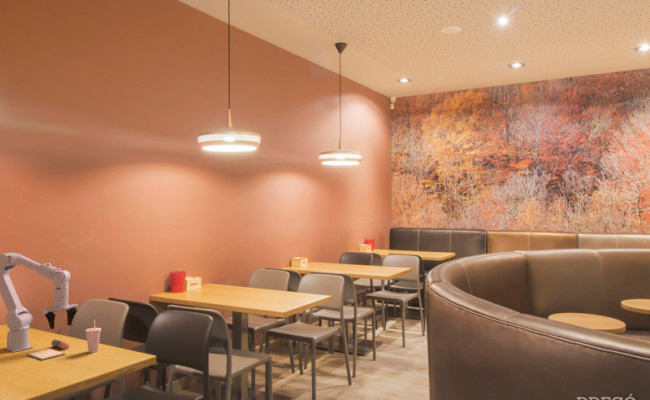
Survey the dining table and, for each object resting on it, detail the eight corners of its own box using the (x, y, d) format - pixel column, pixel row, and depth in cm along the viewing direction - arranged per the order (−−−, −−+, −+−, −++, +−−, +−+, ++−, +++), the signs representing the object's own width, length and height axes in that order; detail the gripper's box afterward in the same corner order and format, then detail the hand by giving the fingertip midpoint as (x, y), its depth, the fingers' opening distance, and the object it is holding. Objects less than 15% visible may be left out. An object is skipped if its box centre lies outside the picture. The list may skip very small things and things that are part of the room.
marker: (51, 347, 207) (50, 340, 207) (58, 344, 210) (57, 338, 210) (62, 350, 202) (62, 344, 202) (69, 348, 204) (69, 341, 204)
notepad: (26, 355, 195) (26, 353, 195) (50, 349, 203) (50, 348, 203) (41, 360, 187) (41, 359, 187) (65, 354, 195) (65, 353, 196)
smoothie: (94, 353, 196) (94, 321, 197) (81, 353, 198) (82, 320, 198) (104, 349, 203) (104, 318, 203) (91, 348, 204) (92, 317, 204)
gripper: (48, 300, 198) (48, 331, 198) (81, 295, 210) (81, 324, 210) (41, 298, 202) (40, 329, 202) (73, 294, 214) (73, 322, 214)
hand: (60, 326), depth 206 cm, fingers open, 7 cm apart
